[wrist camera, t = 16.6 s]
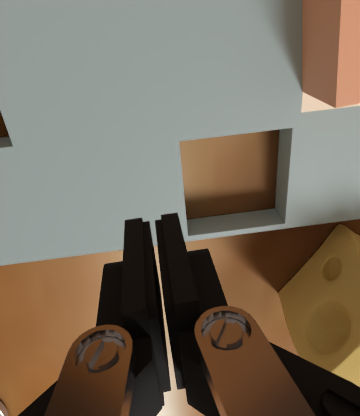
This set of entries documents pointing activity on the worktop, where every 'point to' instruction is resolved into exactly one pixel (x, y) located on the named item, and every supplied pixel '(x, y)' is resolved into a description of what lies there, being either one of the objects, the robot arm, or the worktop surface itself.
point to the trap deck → (156, 119)
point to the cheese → (328, 306)
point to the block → (331, 51)
